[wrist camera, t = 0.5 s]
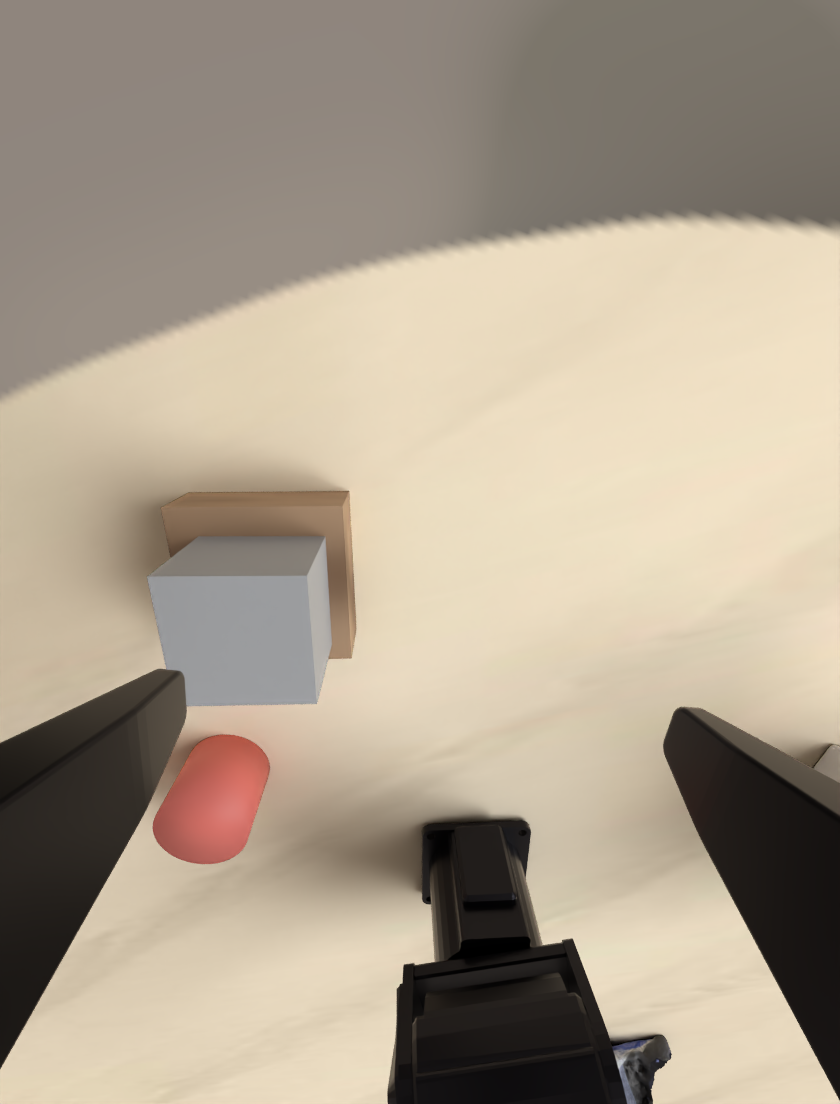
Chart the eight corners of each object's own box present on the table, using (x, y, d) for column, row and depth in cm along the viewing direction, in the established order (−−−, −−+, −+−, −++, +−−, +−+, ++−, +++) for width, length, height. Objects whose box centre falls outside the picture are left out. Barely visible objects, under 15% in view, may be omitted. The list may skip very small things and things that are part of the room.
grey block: (331, 644, 20) (316, 703, 16) (216, 645, 20) (174, 706, 16) (325, 536, 18) (306, 575, 15) (198, 536, 18) (147, 576, 15)
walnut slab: (356, 624, 23) (351, 658, 21) (216, 627, 23) (191, 662, 20) (350, 489, 21) (342, 506, 18) (193, 490, 21) (160, 507, 18)
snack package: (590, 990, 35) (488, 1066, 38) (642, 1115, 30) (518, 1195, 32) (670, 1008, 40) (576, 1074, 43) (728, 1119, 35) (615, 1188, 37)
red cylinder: (273, 794, 26) (253, 862, 23) (196, 796, 26) (162, 866, 23) (264, 732, 25) (241, 795, 21) (182, 735, 25) (144, 798, 21)
